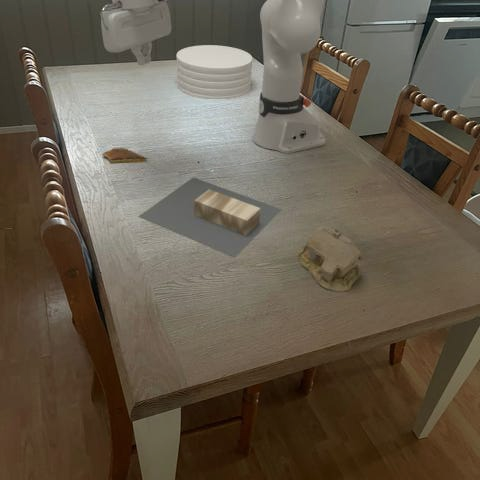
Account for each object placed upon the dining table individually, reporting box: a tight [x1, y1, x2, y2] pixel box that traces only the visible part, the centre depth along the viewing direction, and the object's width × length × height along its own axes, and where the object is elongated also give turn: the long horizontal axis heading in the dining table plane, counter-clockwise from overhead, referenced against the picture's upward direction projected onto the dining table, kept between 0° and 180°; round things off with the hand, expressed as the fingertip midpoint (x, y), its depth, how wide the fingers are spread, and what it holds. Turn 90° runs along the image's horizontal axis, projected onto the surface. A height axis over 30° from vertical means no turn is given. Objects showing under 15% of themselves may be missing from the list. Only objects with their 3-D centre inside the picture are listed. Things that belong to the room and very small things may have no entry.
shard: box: [102, 146, 148, 164], centre depth 128 cm, size 11×8×2 cm
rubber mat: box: [137, 177, 282, 258], centre depth 110 cm, size 26×22×1 cm
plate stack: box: [176, 44, 253, 101], centre depth 175 cm, size 28×28×12 cm
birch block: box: [194, 189, 261, 235], centre depth 107 cm, size 4×6×14 cm
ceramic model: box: [298, 225, 364, 292], centre depth 94 cm, size 14×11×10 cm
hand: (144, 63), depth 109 cm, fingers closed
